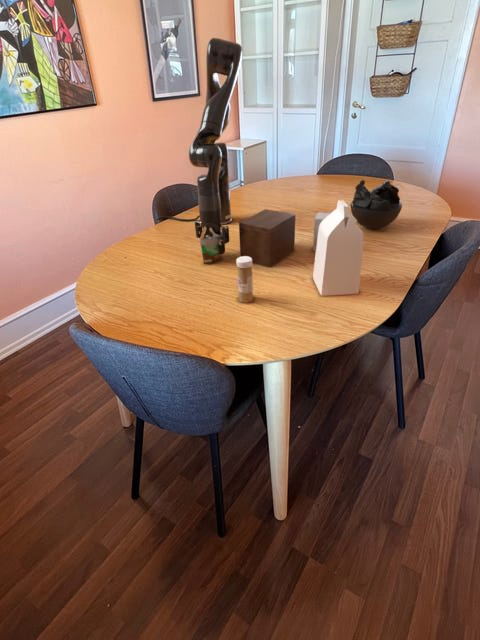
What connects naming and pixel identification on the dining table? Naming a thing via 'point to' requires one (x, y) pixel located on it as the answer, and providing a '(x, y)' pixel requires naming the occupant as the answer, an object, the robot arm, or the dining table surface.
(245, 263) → the sprinkles bottle
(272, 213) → the dark wooden box
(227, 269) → the dining table surface
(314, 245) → the white packaging box
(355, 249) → the milk
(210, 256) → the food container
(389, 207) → the bowl of black rocks
